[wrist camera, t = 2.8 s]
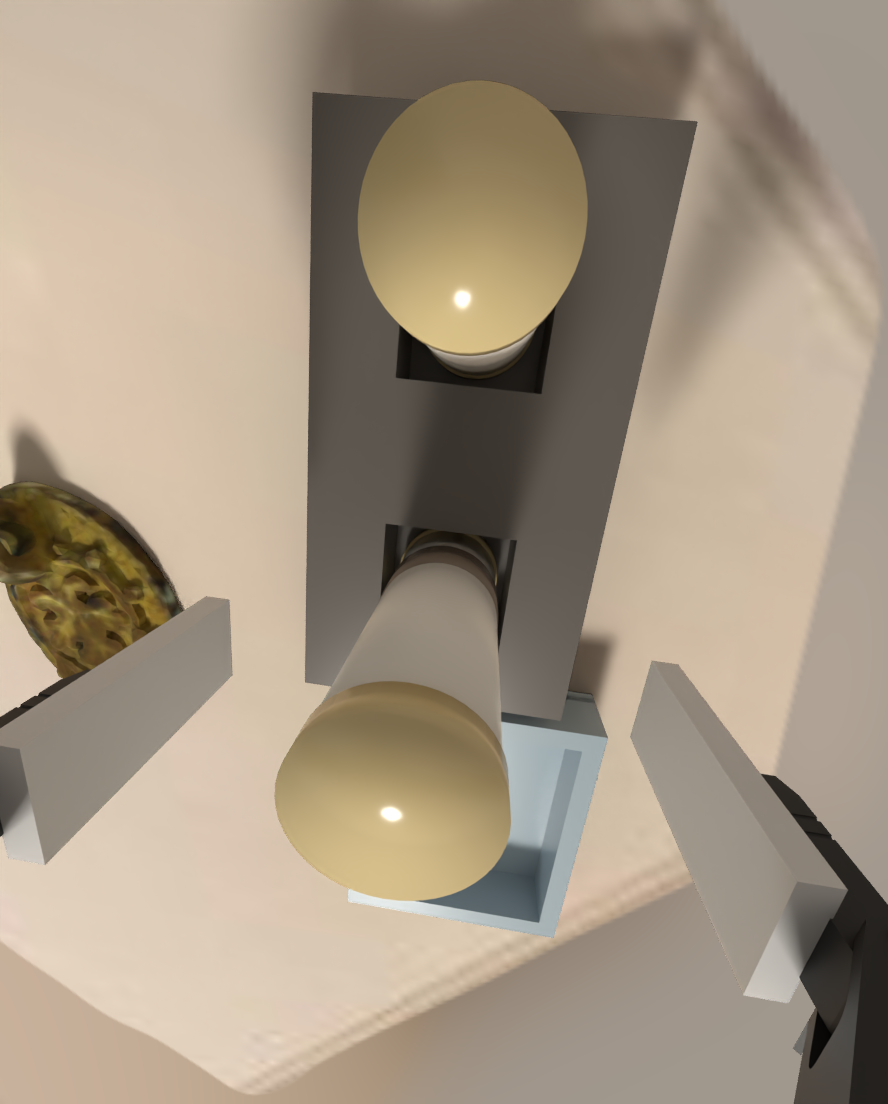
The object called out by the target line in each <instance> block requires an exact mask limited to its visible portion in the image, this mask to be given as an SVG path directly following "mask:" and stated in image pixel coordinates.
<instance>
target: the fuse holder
mask: <svg viewBox="0 0 888 1104" xmlns="http://www.w3.org/2000/svg"><path fill="white" fill-rule="evenodd" d="M416 101H418V100H409V99H396V98H383V97H370V96H357V95H343V94H330V93H317V92H313V106H312V184H311V262H310V340H309V418H308V496H307V574H306V652H305V682H306V683H313V684H320V685H326V686H332V684H333V682H334V681H335V679H336V677H337V675H338V674H339V672H340V670H341V668H342V666H343V665H344V663H345V661H346V659H347V658H348V656H349V654H350V652H351V651H352V649H353V647H354V645H355V643H356V642H357V640H358V638H359V636H360V635H361V633H362V631H363V629H364V628H365V626H366V624H367V622H368V620H369V619H370V617H371V615H372V613H373V612H374V610H375V608H376V606H377V604H378V603H379V601H380V599H381V596H382V594H383V591H384V589H385V588H386V586H387V584H388V582H389V581H390V579H391V577H392V575H393V574H394V572H395V570H396V569H397V567H398V566H399V565H400V563H401V559H402V557H403V554H404V552H405V551H406V549H407V547H408V545H409V544H410V542H411V541H412V540H413V539H414V537H415V536H416V535H418V534H419V533H420V532H421V531H423V530H424V529H433V530H440V531H448V532H456V533H463V534H471V535H479V536H482V537H483V538H484V539H485V540H486V541H487V542H488V544H489V545H490V547H491V548H492V550H493V553H494V556H495V559H496V565H497V583H496V590H497V605H498V628H497V634H498V657H499V680H500V703H501V712H505V713H512V714H519V715H525V716H532V717H539V718H545V719H552V720H558V721H561V718H562V714H563V709H564V705H565V701H566V696H567V692H568V687H569V683H570V679H571V674H572V670H573V666H574V661H575V657H576V652H577V648H578V644H579V639H580V635H581V630H582V626H583V622H584V617H585V613H586V609H587V604H588V600H589V595H590V591H591V587H592V582H593V578H594V574H595V569H596V565H597V560H598V556H599V552H600V547H601V543H602V538H603V534H604V530H605V525H606V521H607V517H608V512H609V508H610V503H611V499H612V495H613V490H614V486H615V481H616V477H617V473H618V468H619V464H620V460H621V455H622V451H623V446H624V442H625V438H626V433H627V429H628V425H629V420H630V416H631V411H632V407H633V403H634V398H635V394H636V389H637V385H638V381H639V376H640V372H641V368H642V363H643V359H644V354H645V350H646V346H647V341H648V337H649V333H650V328H651V324H652V319H653V315H654V311H655V306H656V302H657V297H658V293H659V289H660V284H661V280H662V276H663V271H664V267H665V262H666V258H667V254H668V249H669V245H670V240H671V236H672V232H673V227H674V223H675V219H676V214H677V210H678V205H679V201H680V197H681V192H682V188H683V184H684V179H685V175H686V170H687V166H688V162H689V157H690V153H691V148H692V144H693V140H694V135H695V131H696V127H697V122H696V121H683V120H670V119H657V118H644V117H631V116H618V115H605V114H592V113H579V112H566V111H553V110H549V111H550V112H551V113H552V114H553V115H554V116H555V117H556V118H557V119H558V121H559V122H560V123H561V125H562V126H563V128H564V129H565V130H566V132H567V133H568V135H569V137H570V139H571V141H572V143H573V145H574V147H575V149H576V152H577V154H578V157H579V160H580V162H581V165H582V169H583V174H584V178H585V182H586V191H587V200H588V211H587V227H586V235H585V240H584V244H583V249H582V253H581V256H580V259H579V262H578V265H577V267H576V270H575V272H574V274H573V276H572V278H571V281H570V283H569V285H568V287H567V288H566V290H565V291H564V293H563V294H562V296H561V298H560V299H559V301H558V302H557V304H556V305H555V307H554V308H553V310H552V311H551V312H550V314H549V315H548V316H547V317H546V319H545V320H544V321H543V322H542V323H541V324H540V325H539V326H538V327H537V328H536V330H535V333H534V336H533V339H532V341H531V343H530V345H529V347H528V348H527V350H526V351H525V353H524V354H523V356H522V357H521V358H520V360H519V361H518V362H517V363H516V364H515V365H514V366H513V367H511V368H510V369H509V370H507V371H506V372H504V373H502V374H500V375H498V376H496V377H493V378H489V379H483V380H471V379H466V378H463V377H460V376H457V375H455V374H453V373H451V372H450V371H448V370H447V369H446V368H445V367H443V366H442V365H441V364H440V363H439V362H438V361H437V360H436V358H435V357H434V356H433V355H432V353H431V352H430V350H429V348H428V347H427V346H426V345H425V344H423V343H422V342H420V341H419V340H417V339H416V338H414V337H413V336H412V335H411V334H410V333H408V332H407V331H406V330H405V329H404V328H403V327H402V326H401V325H400V324H399V323H398V322H397V321H396V320H395V319H394V318H393V317H392V316H391V315H390V313H389V312H388V311H387V310H386V309H385V307H384V306H383V304H382V303H381V301H380V300H379V298H378V297H377V295H376V293H375V291H374V289H373V287H372V285H371V283H370V281H369V279H368V276H367V273H366V270H365V268H364V264H363V260H362V256H361V252H360V245H359V237H358V208H359V198H360V193H361V188H362V184H363V180H364V177H365V174H366V170H367V167H368V164H369V162H370V160H371V158H372V156H373V153H374V151H375V149H376V147H377V145H378V144H379V142H380V141H381V139H382V137H383V136H384V134H385V132H386V131H387V130H388V129H389V127H390V126H391V125H392V124H393V122H394V121H395V120H396V119H397V118H398V117H399V116H400V115H401V114H402V113H403V112H404V111H405V110H406V109H407V108H408V107H409V106H411V105H412V104H413V103H415V102H416Z"/></svg>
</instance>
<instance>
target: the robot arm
mask: <svg viewBox="0 0 888 1104" xmlns="http://www.w3.org/2000/svg"><path fill="white" fill-rule="evenodd" d="M231 676H232V653H231V627H230V602H229V600H228V599H221V598H214V597H207V596H206V597H204V598H203V599H201V600H200V601H198V602H197V603H195V604H194V605H192V606H190V607H189V608H187V609H186V610H184V611H183V612H181V613H180V614H178V615H176V616H175V617H173V618H172V619H170V620H169V621H167V622H165V623H164V624H162V625H161V626H159V627H158V628H156V629H155V630H153V631H151V632H150V633H148V634H147V635H145V636H144V637H142V638H141V639H139V640H137V641H136V642H134V643H133V644H131V645H130V646H128V647H127V648H125V649H123V650H122V651H120V652H119V653H117V654H116V655H114V656H113V657H111V658H109V659H108V660H106V661H105V662H103V663H102V664H100V665H98V666H97V667H95V668H94V669H92V670H88V669H87V670H84V671H82V672H79V673H77V674H74V675H72V676H69V677H66V678H64V679H61V680H59V681H58V682H56V683H55V684H53V685H51V686H50V687H48V688H47V689H45V690H43V691H42V692H40V693H39V695H38V696H34V697H32V698H30V699H29V700H27V701H26V702H24V703H22V704H21V706H20V707H19V708H17V707H16V708H14V709H13V710H11V711H9V712H8V713H6V714H5V715H3V716H1V717H0V837H1V836H3V840H4V844H5V848H6V852H7V856H8V858H10V859H15V860H20V861H26V862H31V863H37V864H42V865H45V864H46V863H47V862H48V861H49V860H50V859H51V858H52V857H53V856H54V855H55V854H56V853H57V852H58V851H59V850H60V849H61V848H62V847H63V846H64V845H65V844H66V843H67V842H68V841H69V840H70V839H71V838H72V837H73V836H74V835H75V834H76V833H77V832H78V831H79V830H80V829H81V828H82V827H83V826H84V825H85V824H86V823H87V822H88V821H89V820H90V819H91V818H92V817H93V816H94V815H95V814H96V813H97V812H98V811H99V810H100V809H101V808H102V807H103V806H104V805H105V804H106V803H107V802H108V801H109V800H110V799H111V798H112V797H113V796H114V795H115V794H116V793H117V792H118V791H119V790H120V788H121V787H122V786H123V785H124V784H125V783H126V782H127V781H128V780H129V779H130V778H131V777H132V776H133V775H134V774H135V773H136V772H137V771H138V770H139V769H140V768H141V767H142V766H143V765H144V764H145V763H146V762H147V761H148V760H149V759H150V758H151V757H152V756H153V755H154V754H155V753H156V752H157V751H158V750H159V749H160V748H161V747H162V746H163V745H164V744H165V743H166V742H167V741H168V740H169V739H170V738H171V737H172V736H173V735H174V734H175V733H176V732H177V731H178V730H179V729H180V728H181V727H182V726H183V725H184V724H185V723H186V722H187V721H188V720H189V719H190V718H191V717H192V716H193V715H194V714H195V713H196V711H197V710H198V709H199V708H200V707H201V706H202V705H203V704H204V703H205V702H206V701H207V700H208V699H209V698H210V697H211V696H212V695H213V694H214V693H215V692H216V691H217V690H218V689H219V688H220V687H221V686H222V685H223V684H224V683H225V682H226V681H227V680H228V679H229V678H230V677H231ZM630 737H631V740H632V742H633V744H634V747H635V749H636V751H637V753H638V756H639V758H640V760H641V763H642V765H643V767H644V769H645V772H646V774H647V776H648V779H649V781H650V783H651V785H652V788H653V790H654V792H655V795H656V797H657V799H658V801H659V804H660V806H661V808H662V811H663V813H664V815H665V818H666V820H667V822H668V824H669V827H670V829H671V831H672V834H673V836H674V838H675V840H676V843H677V845H678V847H679V850H680V852H681V854H682V856H683V859H684V861H685V863H686V866H687V868H688V870H689V872H690V875H691V877H692V879H693V882H694V884H695V886H696V888H697V890H698V893H699V895H700V898H701V900H702V902H703V905H704V907H705V909H706V911H707V913H708V916H709V918H710V920H711V923H712V925H713V927H714V929H715V932H716V934H717V937H718V939H719V941H720V943H721V946H722V948H723V950H724V952H725V955H726V957H727V959H728V962H729V964H730V966H731V968H732V971H733V973H734V975H735V978H736V980H737V982H738V985H739V987H740V989H741V991H742V994H743V995H745V996H751V997H756V998H761V999H768V1000H773V1001H778V1002H783V1003H789V1001H790V999H791V997H792V995H793V993H794V991H795V990H796V988H797V986H798V984H799V982H800V980H801V981H802V983H803V985H804V987H805V989H806V990H807V992H808V994H809V996H810V998H811V1000H812V1001H813V1003H814V1005H815V1007H816V1008H815V1010H814V1012H813V1014H812V1015H811V1017H810V1019H809V1021H808V1023H807V1024H806V1026H805V1028H804V1030H803V1031H802V1033H801V1035H800V1037H799V1039H798V1040H797V1042H796V1044H795V1046H794V1047H793V1049H794V1050H795V1051H797V1052H798V1053H799V1054H800V1055H801V1054H802V1053H803V1055H802V1061H801V1067H800V1072H799V1077H798V1083H797V1089H796V1095H795V1100H794V1104H888V904H887V903H886V902H885V901H884V899H883V898H882V897H881V896H880V895H879V893H878V892H877V891H876V890H875V888H874V887H873V886H872V885H871V883H870V882H869V881H868V880H867V879H866V877H865V876H864V875H863V874H862V872H861V871H860V870H859V869H858V868H857V866H856V865H855V864H854V863H853V861H852V860H851V859H850V858H849V856H848V855H847V854H846V853H845V851H844V850H843V849H842V848H841V847H840V845H839V844H838V843H837V842H836V841H835V840H832V838H831V834H830V833H829V832H828V831H827V829H826V828H825V827H824V826H823V824H822V823H821V822H819V821H817V817H816V816H815V815H814V813H813V812H812V811H811V810H810V808H809V807H808V806H807V805H806V803H805V802H804V801H803V800H802V799H801V797H800V796H799V795H798V794H796V793H795V792H794V791H793V790H791V789H790V788H789V787H788V786H787V785H785V784H784V783H783V782H782V781H781V780H779V779H778V778H777V777H776V776H771V775H765V774H760V773H759V771H758V770H757V769H756V767H755V766H754V765H753V763H752V762H751V761H750V759H749V758H748V757H747V755H746V754H745V753H744V751H743V750H742V749H741V747H740V746H739V745H738V743H737V742H736V741H735V739H734V738H733V737H732V735H731V734H730V733H729V731H728V730H727V729H726V727H725V726H724V725H723V723H722V722H721V721H720V720H719V718H718V717H717V716H716V714H715V713H714V712H713V710H712V709H711V708H710V706H709V705H708V704H707V702H706V701H705V700H704V698H703V697H702V696H701V694H700V693H699V692H698V690H697V689H696V688H695V686H694V685H693V684H692V682H691V681H690V680H689V678H688V677H687V676H686V674H685V673H684V672H683V670H682V669H681V668H680V666H679V665H678V664H671V663H664V662H657V661H652V662H651V665H650V669H649V672H648V676H647V680H646V683H645V687H644V690H643V694H642V697H641V701H640V704H639V708H638V711H637V715H636V718H635V722H634V725H633V729H632V732H631V736H630Z"/></svg>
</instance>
